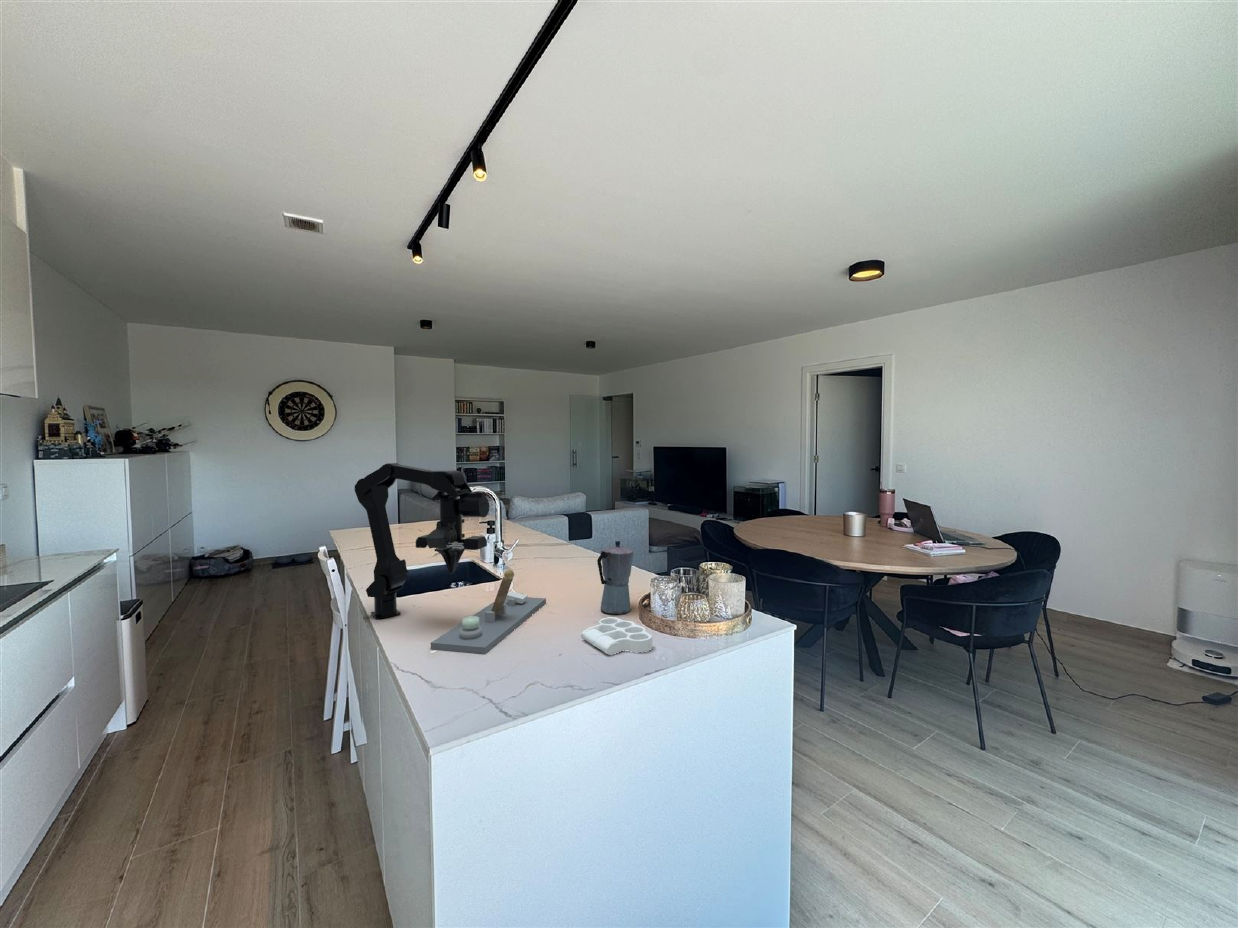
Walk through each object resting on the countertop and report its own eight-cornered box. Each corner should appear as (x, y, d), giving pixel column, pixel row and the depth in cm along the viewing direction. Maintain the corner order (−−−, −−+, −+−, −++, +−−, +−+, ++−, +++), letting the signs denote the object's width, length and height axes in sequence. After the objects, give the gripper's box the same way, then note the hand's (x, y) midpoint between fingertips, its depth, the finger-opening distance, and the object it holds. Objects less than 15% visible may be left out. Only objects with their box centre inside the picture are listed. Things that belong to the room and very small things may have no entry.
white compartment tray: (574, 637, 123) (622, 625, 131) (614, 663, 108) (666, 648, 117) (574, 624, 123) (622, 613, 131) (614, 648, 108) (666, 634, 116)
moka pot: (643, 606, 146) (642, 539, 146) (614, 621, 133) (614, 548, 133) (616, 601, 152) (615, 536, 151) (586, 615, 139) (585, 544, 138)
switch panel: (430, 648, 116) (430, 631, 116) (503, 600, 153) (503, 587, 153) (485, 653, 113) (484, 636, 113) (546, 603, 150) (545, 589, 150)
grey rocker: (504, 599, 144) (505, 594, 144) (509, 595, 148) (510, 591, 148) (522, 603, 143) (522, 598, 143) (527, 599, 147) (527, 595, 147)
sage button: (458, 628, 119) (458, 620, 119) (467, 622, 123) (467, 615, 123) (474, 629, 118) (473, 622, 118) (482, 623, 122) (482, 616, 122)
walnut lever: (486, 616, 131) (502, 570, 130) (494, 611, 135) (510, 566, 134) (495, 620, 131) (511, 574, 129) (502, 615, 135) (518, 570, 133)
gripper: (401, 520, 129) (403, 579, 130) (466, 521, 125) (467, 582, 125) (427, 514, 140) (428, 569, 140) (487, 515, 136) (488, 572, 136)
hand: (451, 573), depth 135 cm, fingers closed
